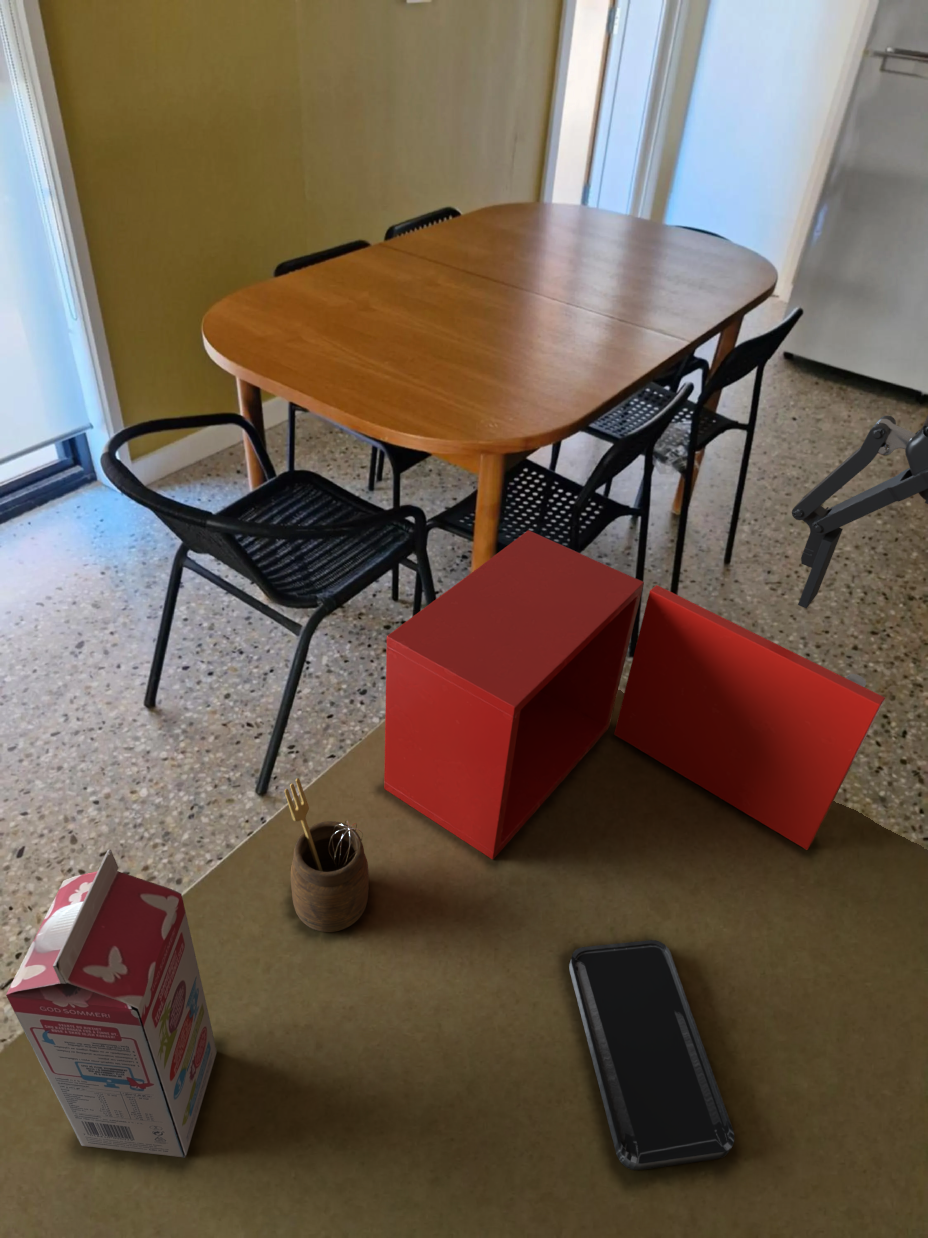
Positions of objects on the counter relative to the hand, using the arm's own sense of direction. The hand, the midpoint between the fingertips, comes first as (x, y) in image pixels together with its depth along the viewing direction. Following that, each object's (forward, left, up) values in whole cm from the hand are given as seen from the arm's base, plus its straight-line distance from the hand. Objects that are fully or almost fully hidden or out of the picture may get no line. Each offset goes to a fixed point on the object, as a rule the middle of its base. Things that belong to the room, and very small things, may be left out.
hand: (889, 633), depth 71 cm
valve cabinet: (+20, +22, -19) cm, 35 cm away
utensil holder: (+15, +43, -19) cm, 50 cm away
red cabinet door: (+7, +5, -19) cm, 21 cm away
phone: (-7, +31, -19) cm, 37 cm away
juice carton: (+10, +60, -19) cm, 64 cm away
